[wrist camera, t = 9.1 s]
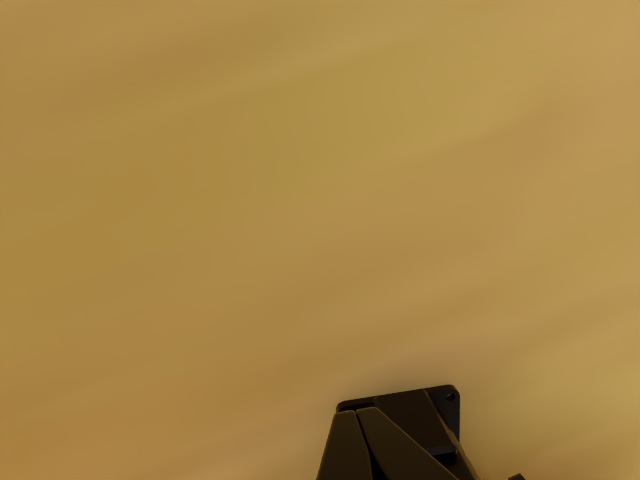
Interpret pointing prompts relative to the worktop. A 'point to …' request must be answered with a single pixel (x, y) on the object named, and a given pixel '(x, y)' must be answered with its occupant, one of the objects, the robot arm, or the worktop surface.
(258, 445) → the worktop surface
